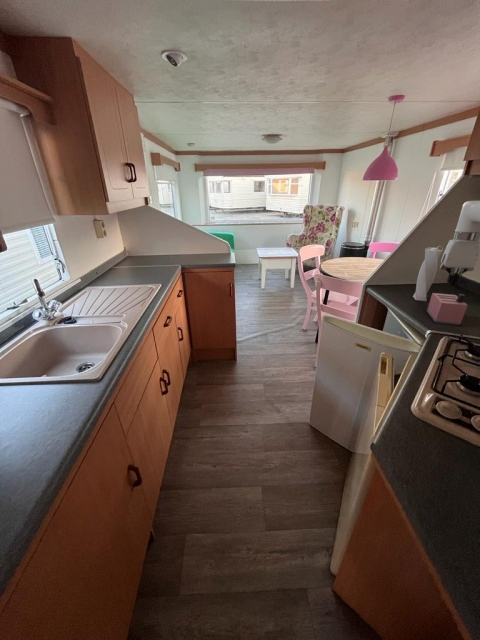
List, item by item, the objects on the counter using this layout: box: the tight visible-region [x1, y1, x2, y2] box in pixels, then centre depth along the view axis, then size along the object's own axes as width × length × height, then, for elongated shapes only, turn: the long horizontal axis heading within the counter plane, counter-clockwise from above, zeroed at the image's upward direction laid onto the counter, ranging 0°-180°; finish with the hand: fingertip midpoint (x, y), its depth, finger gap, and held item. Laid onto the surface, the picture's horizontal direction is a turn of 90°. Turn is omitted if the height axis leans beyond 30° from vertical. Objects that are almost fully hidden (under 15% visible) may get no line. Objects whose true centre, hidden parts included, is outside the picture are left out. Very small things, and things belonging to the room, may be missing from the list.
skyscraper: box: [412, 245, 444, 302], centre depth 134 cm, size 8×7×28 cm
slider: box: [456, 293, 466, 303], centre depth 110 cm, size 2×2×3 cm
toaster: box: [426, 292, 468, 326], centre depth 117 cm, size 9×13×9 cm
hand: (451, 284), depth 106 cm, fingers closed
